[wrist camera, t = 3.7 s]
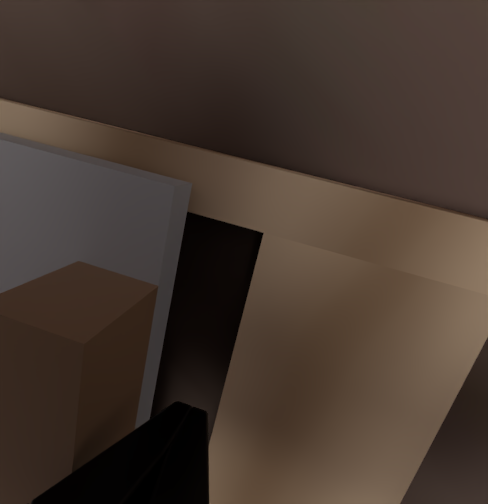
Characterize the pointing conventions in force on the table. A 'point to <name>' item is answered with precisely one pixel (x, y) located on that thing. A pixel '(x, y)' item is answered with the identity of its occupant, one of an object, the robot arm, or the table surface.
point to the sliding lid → (78, 306)
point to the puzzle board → (319, 318)
